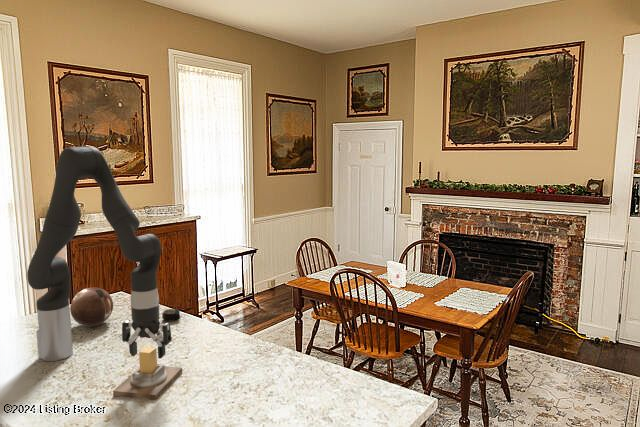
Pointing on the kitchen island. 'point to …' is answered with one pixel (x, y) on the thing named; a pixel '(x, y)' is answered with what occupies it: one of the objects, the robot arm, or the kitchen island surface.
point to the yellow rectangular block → (148, 360)
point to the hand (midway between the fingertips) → (147, 356)
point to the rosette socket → (148, 383)
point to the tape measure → (171, 315)
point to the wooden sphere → (91, 306)
